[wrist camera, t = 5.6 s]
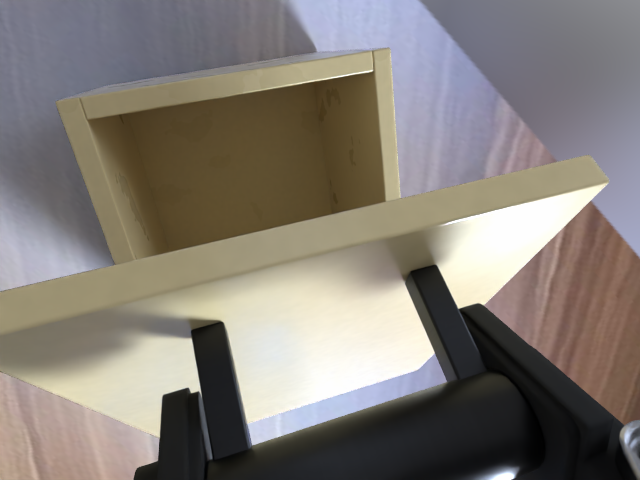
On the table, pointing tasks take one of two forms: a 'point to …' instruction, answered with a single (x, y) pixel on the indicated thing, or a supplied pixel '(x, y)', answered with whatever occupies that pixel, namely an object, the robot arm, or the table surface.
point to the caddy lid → (313, 332)
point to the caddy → (235, 148)
